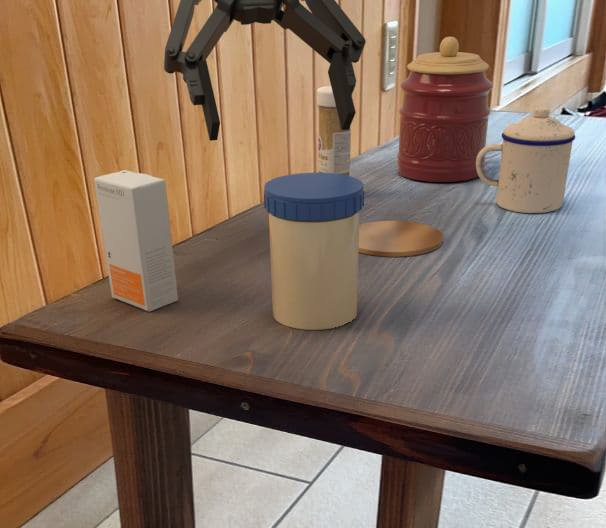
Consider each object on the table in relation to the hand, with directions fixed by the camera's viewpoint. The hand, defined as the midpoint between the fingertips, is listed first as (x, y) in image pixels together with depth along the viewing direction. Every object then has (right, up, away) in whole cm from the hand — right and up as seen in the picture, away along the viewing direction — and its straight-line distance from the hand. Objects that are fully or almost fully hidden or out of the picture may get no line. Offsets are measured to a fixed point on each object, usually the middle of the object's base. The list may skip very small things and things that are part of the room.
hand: (283, 127), depth 83 cm
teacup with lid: (+31, +4, +30) cm, 43 cm away
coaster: (+13, -4, +19) cm, 23 cm away
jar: (+3, -18, +1) cm, 18 cm away
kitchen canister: (+22, +15, +44) cm, 52 cm away
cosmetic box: (-14, -16, +5) cm, 22 cm away
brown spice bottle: (+6, +7, +35) cm, 37 cm away
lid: (+3, -8, -6) cm, 11 cm away
